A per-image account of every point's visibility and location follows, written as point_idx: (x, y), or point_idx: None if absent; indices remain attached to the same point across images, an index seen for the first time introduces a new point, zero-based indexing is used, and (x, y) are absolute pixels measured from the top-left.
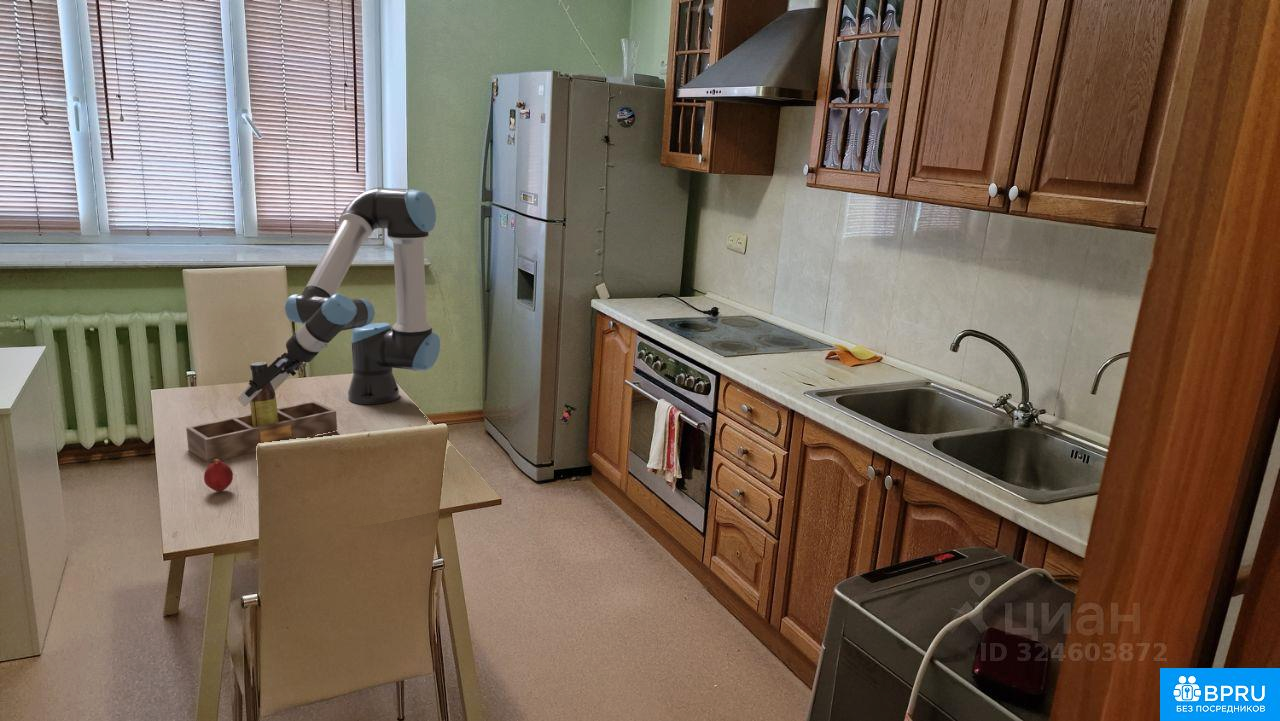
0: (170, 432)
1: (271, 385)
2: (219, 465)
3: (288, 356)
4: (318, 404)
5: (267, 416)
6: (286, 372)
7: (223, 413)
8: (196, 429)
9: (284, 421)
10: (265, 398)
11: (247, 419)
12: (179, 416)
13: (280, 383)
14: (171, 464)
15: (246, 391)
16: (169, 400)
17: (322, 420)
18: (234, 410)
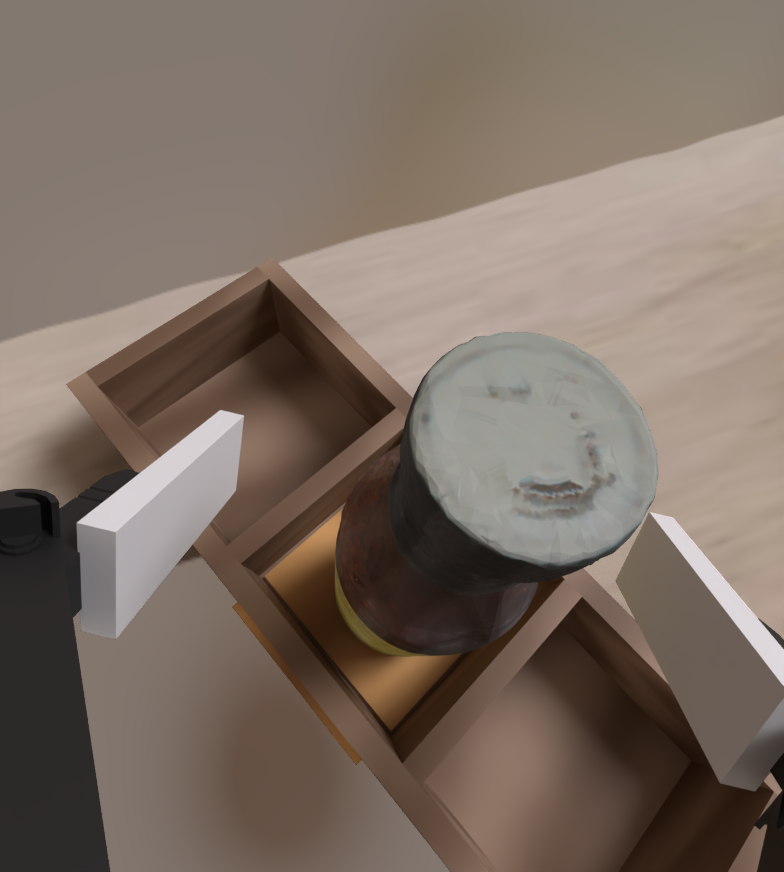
0: (467, 221)
1: (486, 621)
2: None
3: None
4: (745, 859)
5: (346, 614)
6: (762, 752)
7: (694, 317)
8: (282, 299)
9: (358, 724)
10: (353, 600)
11: None
12: (627, 202)
13: (656, 649)
14: (129, 315)
15: (94, 486)
16: (766, 139)
17: None
18: (737, 342)
